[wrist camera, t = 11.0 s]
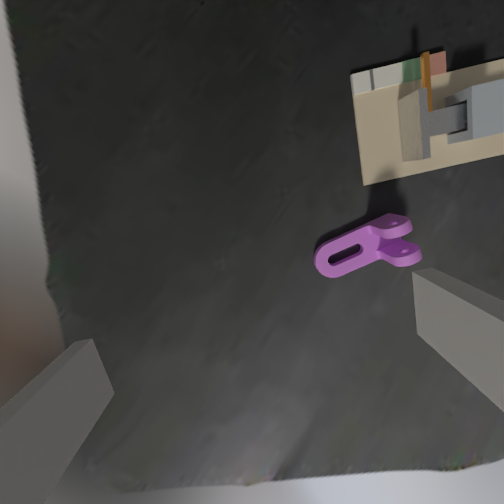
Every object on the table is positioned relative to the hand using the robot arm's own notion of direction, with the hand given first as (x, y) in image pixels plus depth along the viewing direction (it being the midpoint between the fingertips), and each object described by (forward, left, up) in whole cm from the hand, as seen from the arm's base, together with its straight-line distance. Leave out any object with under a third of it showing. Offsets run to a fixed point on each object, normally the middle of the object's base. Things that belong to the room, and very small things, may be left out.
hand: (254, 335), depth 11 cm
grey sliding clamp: (-10, +29, -30) cm, 43 cm away
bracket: (+7, +15, -31) cm, 35 cm away
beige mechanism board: (-9, +27, -31) cm, 42 cm away
